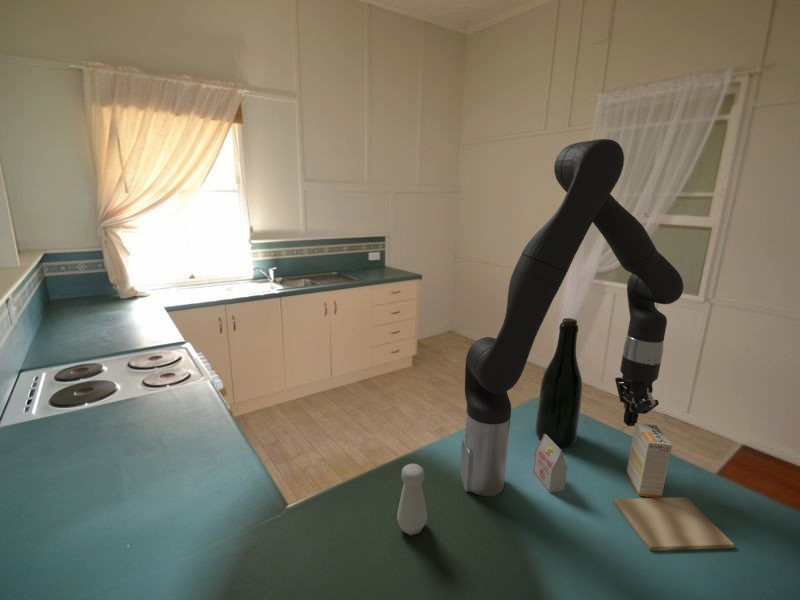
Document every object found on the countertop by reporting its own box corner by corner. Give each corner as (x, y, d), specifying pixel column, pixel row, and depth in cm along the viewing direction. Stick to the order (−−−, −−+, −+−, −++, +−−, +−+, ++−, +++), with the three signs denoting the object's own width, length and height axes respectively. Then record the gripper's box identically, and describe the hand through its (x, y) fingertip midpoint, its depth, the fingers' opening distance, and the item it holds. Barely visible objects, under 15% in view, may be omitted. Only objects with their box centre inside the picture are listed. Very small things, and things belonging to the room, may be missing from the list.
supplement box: (662, 499, 86) (674, 445, 83) (638, 496, 87) (648, 442, 84) (647, 474, 94) (657, 424, 91) (625, 471, 95) (634, 421, 91)
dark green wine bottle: (564, 453, 101) (581, 328, 93) (527, 435, 108) (539, 318, 100) (583, 438, 108) (600, 320, 100) (546, 421, 115) (559, 311, 107)
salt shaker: (430, 520, 79) (432, 462, 76) (422, 542, 74) (424, 482, 71) (402, 512, 81) (403, 456, 78) (392, 533, 76) (393, 474, 73)
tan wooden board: (649, 550, 73) (650, 547, 73) (612, 502, 85) (613, 499, 85) (733, 547, 74) (734, 544, 74) (685, 500, 86) (686, 497, 86)
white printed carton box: (547, 470, 95) (552, 432, 92) (564, 490, 88) (569, 450, 86) (533, 472, 94) (537, 434, 91) (548, 492, 88) (554, 452, 85)
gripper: (609, 345, 97) (599, 410, 101) (644, 368, 84) (631, 441, 89) (639, 345, 98) (627, 409, 102) (678, 368, 85) (664, 440, 89)
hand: (629, 424), depth 95 cm, fingers closed
